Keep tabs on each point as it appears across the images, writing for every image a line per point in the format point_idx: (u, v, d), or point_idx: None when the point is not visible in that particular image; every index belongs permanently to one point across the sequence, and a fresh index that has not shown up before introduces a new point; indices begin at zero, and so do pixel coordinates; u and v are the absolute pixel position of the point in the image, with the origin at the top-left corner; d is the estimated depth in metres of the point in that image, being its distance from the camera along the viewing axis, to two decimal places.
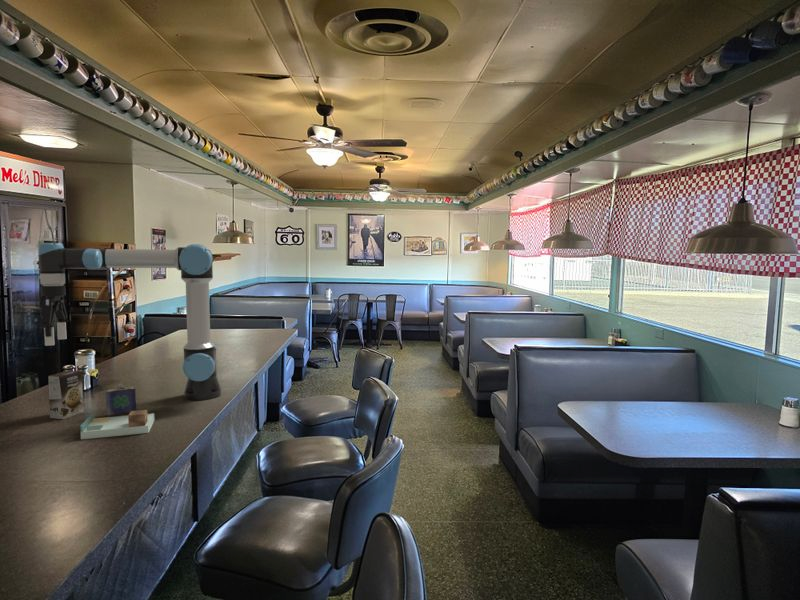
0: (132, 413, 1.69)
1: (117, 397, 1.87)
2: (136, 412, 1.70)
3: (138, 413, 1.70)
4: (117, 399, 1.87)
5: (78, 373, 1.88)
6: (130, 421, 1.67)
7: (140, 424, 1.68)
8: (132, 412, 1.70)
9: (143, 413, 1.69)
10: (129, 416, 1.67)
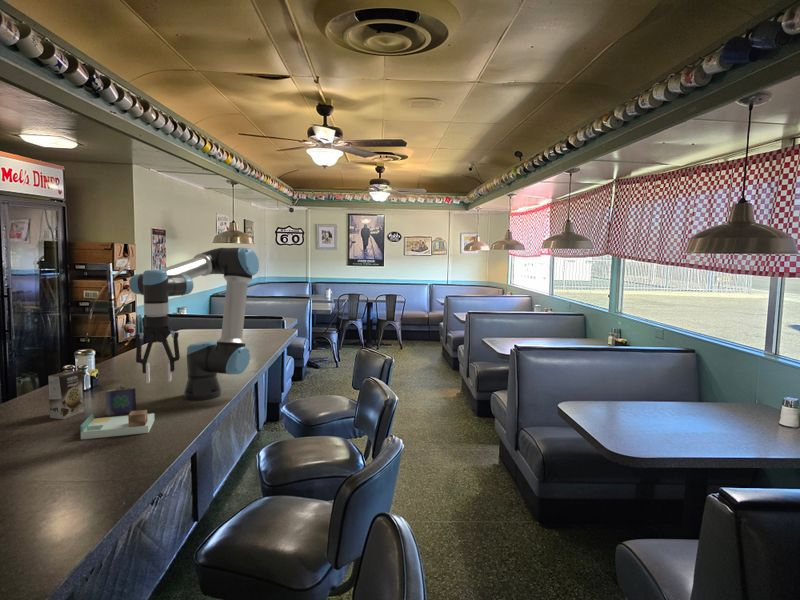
0: (132, 413, 1.69)
1: (117, 397, 1.87)
2: (136, 412, 1.70)
3: (138, 413, 1.70)
4: (117, 399, 1.87)
5: (78, 373, 1.88)
6: (130, 421, 1.67)
7: (140, 424, 1.68)
8: (132, 412, 1.70)
9: (143, 413, 1.69)
10: (129, 416, 1.67)
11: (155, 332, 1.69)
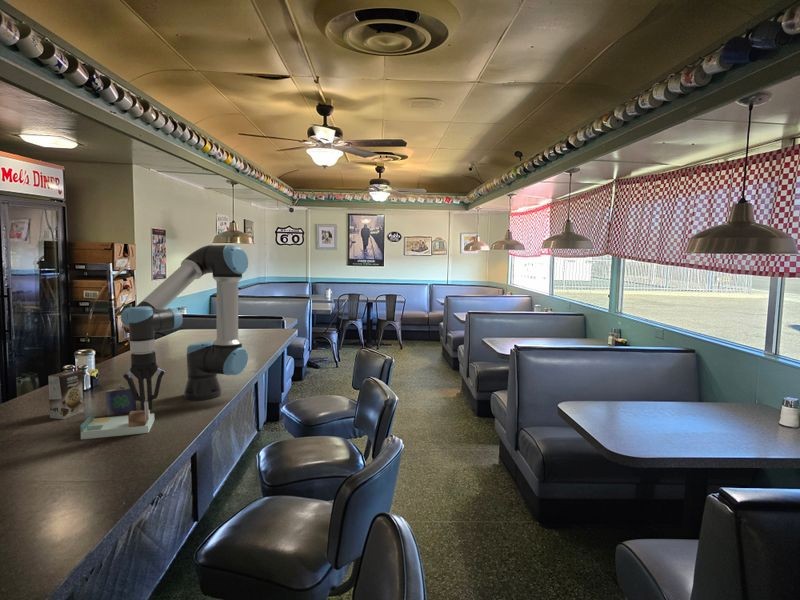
0: (131, 413, 1.69)
1: (117, 397, 1.87)
2: (136, 412, 1.70)
3: (138, 413, 1.70)
4: (117, 399, 1.87)
5: (78, 373, 1.88)
6: (130, 421, 1.67)
7: (140, 424, 1.68)
8: (132, 412, 1.70)
9: (143, 413, 1.69)
10: (129, 416, 1.67)
11: (142, 369, 1.68)
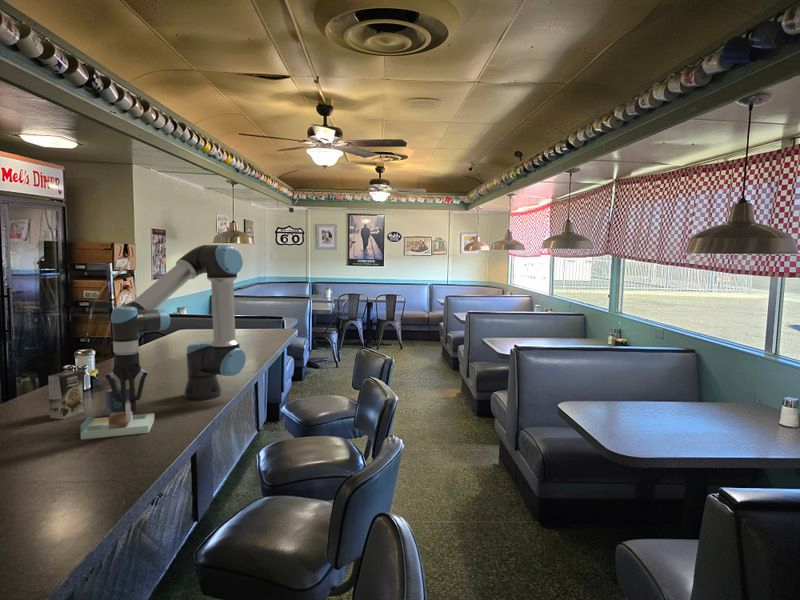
0: (112, 415, 1.67)
1: None
2: (117, 414, 1.68)
3: (118, 414, 1.68)
4: None
5: (78, 373, 1.88)
6: (111, 422, 1.65)
7: (120, 426, 1.66)
8: (113, 414, 1.68)
9: (124, 415, 1.67)
10: (109, 418, 1.65)
11: (125, 370, 1.67)
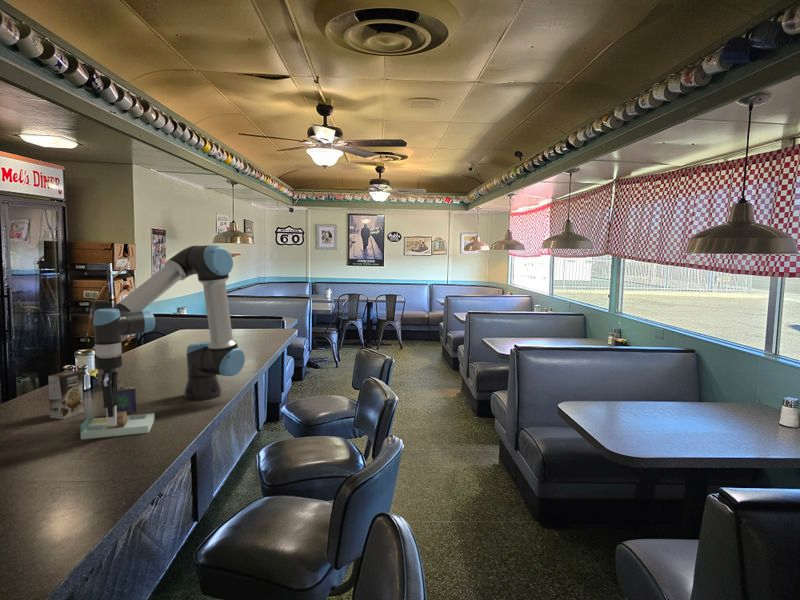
0: None
1: (117, 397, 1.87)
2: None
3: (117, 414, 1.68)
4: None
5: (78, 373, 1.88)
6: None
7: (119, 426, 1.67)
8: None
9: (122, 415, 1.68)
10: None
11: (113, 373, 1.64)
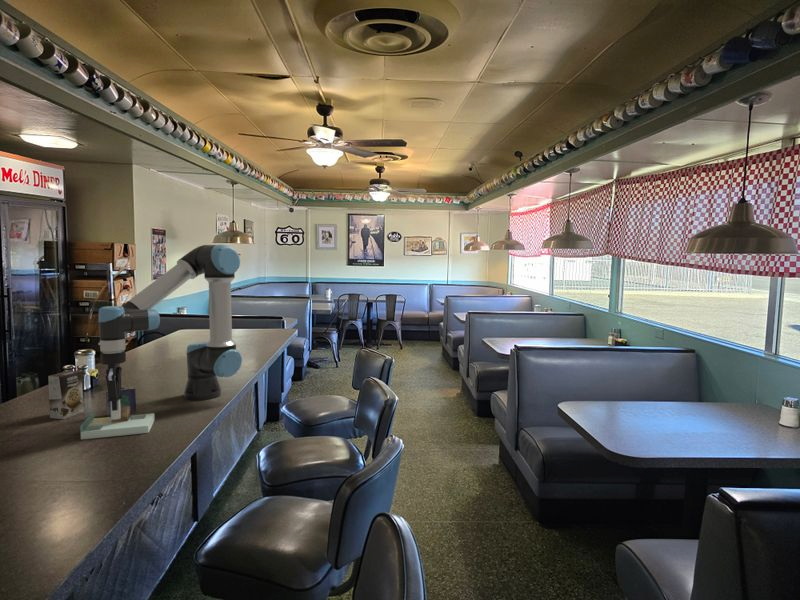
0: None
1: None
2: None
3: None
4: None
5: (78, 373, 1.88)
6: None
7: (122, 419, 1.73)
8: None
9: (125, 409, 1.74)
10: None
11: (117, 368, 1.70)
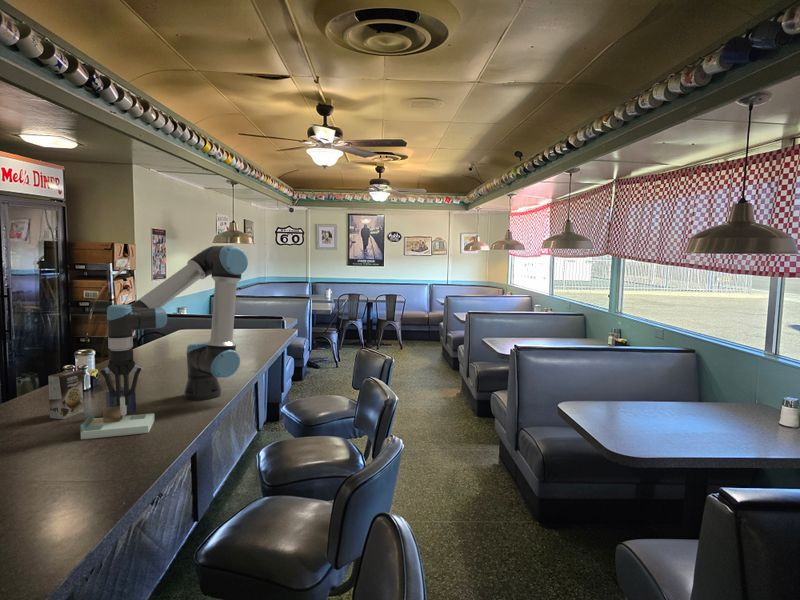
0: (106, 409, 1.73)
1: None
2: (111, 408, 1.74)
3: (113, 409, 1.74)
4: None
5: (78, 373, 1.88)
6: (105, 417, 1.71)
7: (115, 420, 1.72)
8: (107, 408, 1.74)
9: (118, 409, 1.73)
10: (104, 412, 1.71)
11: (119, 365, 1.73)
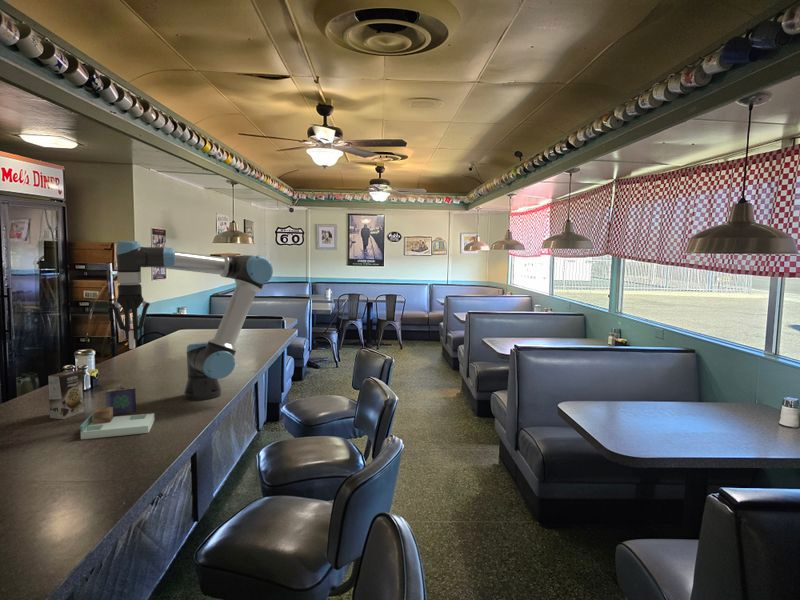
0: (97, 410, 1.72)
1: (117, 397, 1.87)
2: (101, 409, 1.73)
3: (103, 410, 1.73)
4: (117, 399, 1.87)
5: (78, 373, 1.88)
6: (95, 417, 1.70)
7: (105, 421, 1.71)
8: (97, 409, 1.73)
9: (108, 410, 1.72)
10: (94, 413, 1.70)
11: (128, 300, 1.79)
